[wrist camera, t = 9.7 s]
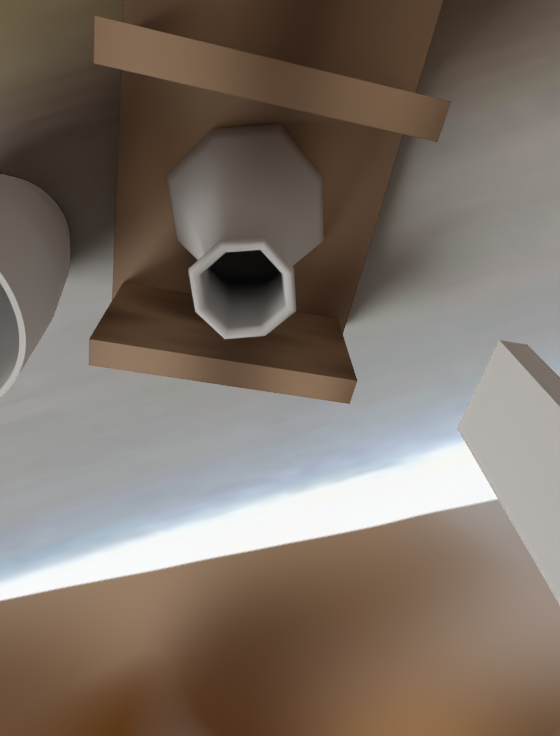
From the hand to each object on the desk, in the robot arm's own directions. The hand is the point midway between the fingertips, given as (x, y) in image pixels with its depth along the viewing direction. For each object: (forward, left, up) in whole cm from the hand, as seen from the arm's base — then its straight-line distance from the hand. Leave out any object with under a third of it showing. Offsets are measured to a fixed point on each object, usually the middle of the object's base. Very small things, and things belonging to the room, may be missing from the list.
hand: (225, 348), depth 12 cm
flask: (0, 0, -14) cm, 14 cm away
